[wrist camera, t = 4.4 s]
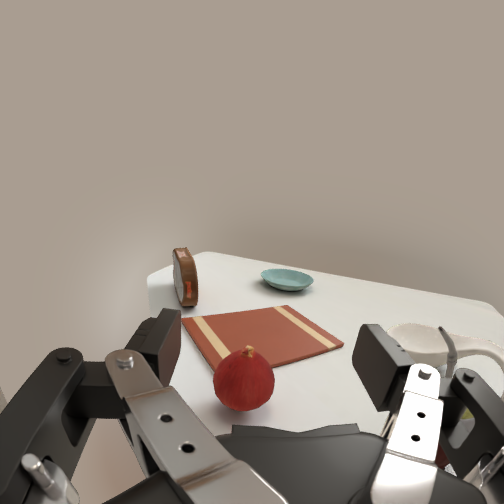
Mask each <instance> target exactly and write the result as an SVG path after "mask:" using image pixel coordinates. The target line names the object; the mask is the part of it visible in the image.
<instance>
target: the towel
mask: <svg viewBox="0 0 504 504" xmlns="http://www.w3.org/2000/svg"><path fill="white" fill-rule="evenodd" d="M181 322H182V323H183V325H184V326H185V328H186V330H187V331H188V333H189V334H190V336H191V337H192V339H193V341H194V342H195V344H196V345H197V347H198V348H199V350H200V351H201V353H202V354H203V356H204V357H205V359H206V360H207V362H208V363H209V365H210V366H211V368H212V369H213V370H214V372H215V371H216V369H217V366H218V364H219V363H220V362H221V361H222V360H223V359H224V358H225V357H227V356H228V355H229V354H231V353H232V352H235V351H238V350H241V349H243V348H244V347H245V346H247V345H248V346H251V347H253V348H254V350H255V351H256V352H257V353H259V354H261V355H262V356H263V357H264V358H265V359H266V360H267V361H268V363H269V364H270V366H271V368H274V367H277V366H281V365H285V364H288V363H292V362H295V361H299V360H302V359H305V358H309V357H312V356H315V355H318V354H321V353H325V352H328V351H331V350H334V349H337V348H340V347H342V346H343V345H344V343H343V342H342V341H340V340H339V339H337V338H336V337H334V336H332V335H331V334H329V333H328V332H326V331H325V330H323V329H322V328H320V327H319V326H318V325H316V324H315V323H313V322H312V321H310V320H309V319H307V318H306V317H304V316H303V315H301V314H300V313H298V312H297V311H295V310H294V309H292V308H291V307H289V306H288V305H284V306H277V307H271V308H264V309H256V310H249V311H241V312H233V313H225V314H217V315H208V316H198V317H189V318H181Z"/></svg>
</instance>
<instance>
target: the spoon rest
mask: <svg viewBox="0 0 504 504" xmlns="http://www.w3.org/2000/svg"><path fill="white" fill-rule="evenodd" d="M386 333H387V334H388V335H389V336H391V337H392V338H394V339H396V341H397V342H398V343H399V344H400V345H401V347H403V349H404V350H405V352H407V353H408V354H409V355H410V357H411V358H412V359H413V360H414V361H415V362H416V364H426V365H429V366H431V367H433V368H436V367H439V366H442V365H444V364H447V354H448V353H449V350H448V346H447V344H446V342H445V340H444V338H443V336H442V335H441V333H440V331H439V329H437V328H434V327H430V326H426V325H420V324H411V323H407V324H399V325H396V326H393V327H391V328H389V329H388V330H387V332H386ZM447 334H448V335H449V336H450V338H451V339H452V340H453V342H454V345H455V348H456V351H457V354H458V355H457V359H460V358H463V357H466V356H470V355H485V356H488V357H490V358H492V359H493V360H495V361H496V362H497V363H498V365H499V366H500V367H501V369H502V370H503V373H504V350H503V349H502V348H501V347H500V346H498V345H497V344H495V343H493V342H491V341H488V340H484V339H479V338H472V337H466V336H461V335H457V334H453V333H449V332H447ZM501 400H502V401H503V402H504V392H503V394H502V397H501Z"/></svg>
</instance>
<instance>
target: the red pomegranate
mask: <svg viewBox="0 0 504 504" xmlns="http://www.w3.org/2000/svg"><path fill="white" fill-rule="evenodd" d="M274 383H275V378H274V374H273V371H272V368H271V366H270V364H269V363H268V361H267V360H266V359H265V358H264V357H263V356H262V355H261V354H259V353H257V352H256V351H255V350H254V348H253V347H251V346H248V345H247V346H245V347H244V348H243V349H241V350H238V351H235V352H232V353H231V354H229V355H228V356H227V357H225V358H224V359H223V360H222V361H221V362H220V363H219V364H218V366H217V369H216V371H215V373H214V377H213V384H214V389H215V394H216V395H217V397H218V398H219V399H220V401H221V402H222V403H223V404H224V405H226V406H227V407H229V408H231V409H233V410H237V411H249V410H253V409H256V408H259V407H260V406H261V405H263V404H264V403H265V402H267V401H268V400H269V399H270V397H271V395H272V393H273V389H274Z"/></svg>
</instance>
